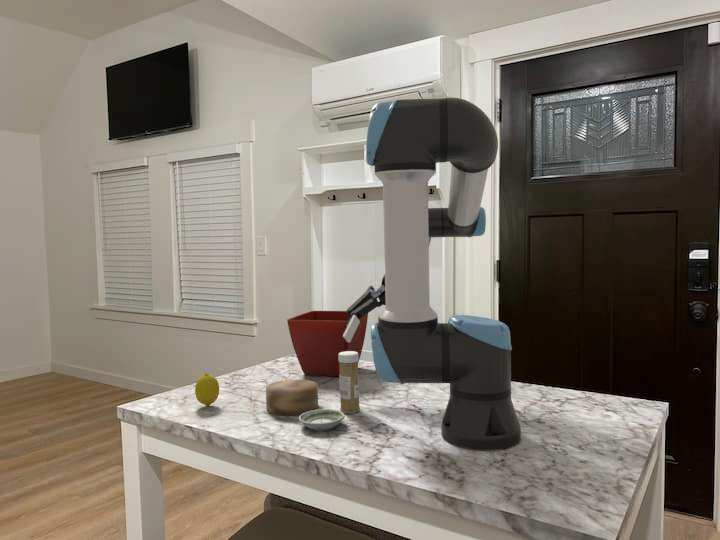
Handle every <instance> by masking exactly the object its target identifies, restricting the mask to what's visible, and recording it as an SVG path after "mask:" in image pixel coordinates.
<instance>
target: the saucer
mask: <svg viewBox="0 0 720 540" xmlns="http://www.w3.org/2000/svg"><path fill="white" fill-rule="evenodd" d="M344 420H345V413H343V412H341V411H340V410H337V409H333V408H332V409H331V408H321V409H316V410H312V411H308V412H305V413H303V414H301V415H298V421H299V422H300V423H301V424H302V425H303V426H305V428H306V427H307V428H309V429H311V430H313V431H318V432H321V431H323V432H324V431H329V430H331V429H333V428H335V426H337V425H339V424H340V423H341V422H342V421H344Z"/></svg>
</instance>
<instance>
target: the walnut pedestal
mask: <svg viewBox="0 0 720 540" xmlns="http://www.w3.org/2000/svg"><path fill="white" fill-rule="evenodd" d="M318 386H319V385H318V383H317V382H315V381H311V380H307V379H287V380H280V381H275V382H272V383H270V384H268V385H266V387H265V401H266V406H265V407H266V412H267V413H269V414H271V415H274V416H279V415H281V416H280V417H293V416H294V417H295V416H300V415H301V414H303V413H305V412H308V411H312V410H318V408H319V387H318Z"/></svg>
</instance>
